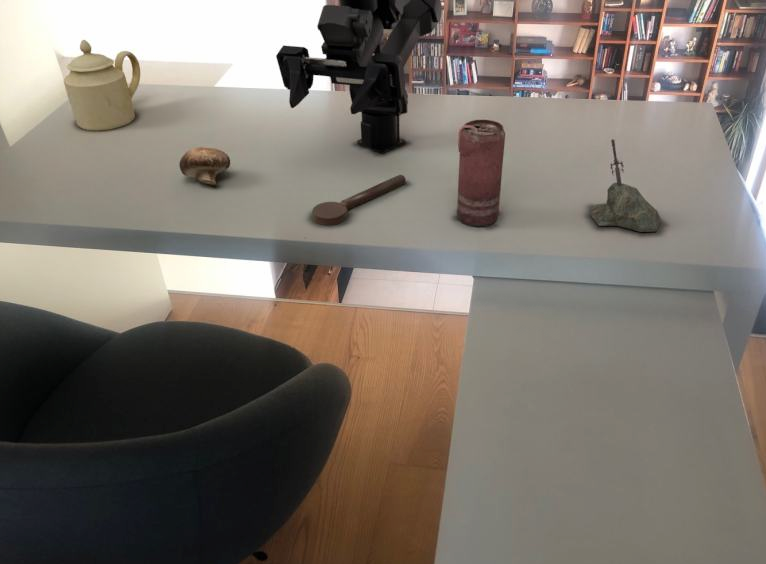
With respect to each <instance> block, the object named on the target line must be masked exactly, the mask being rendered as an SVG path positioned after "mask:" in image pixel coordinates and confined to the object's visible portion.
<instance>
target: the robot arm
mask: <svg viewBox="0 0 766 564" xmlns="http://www.w3.org/2000/svg"><path fill="white" fill-rule="evenodd" d="M441 1H442V0H337V2H338V5H337V4H336V5H333V4H325V5H323V6H322V9H321V12H320V16H319V19H318V22H317V24H316V25H317V26H316V27H317V30H318V31H319V32H320V35H321V37H322V40H323V43H322V45H321V46H320V48H321V53H322V55H325V58H321V57H311V56H310V53H309V49H308V48H307V47H305V46H296V45H295V46H294V45H282V46H281V48H280V49H279V50H278V51H277V54H276V55H275V58H276V61H277V66H278V69H279V72H280V76H281V79H282V84H283V86H284V87H285V88H286V89H287V90H288V91H289V97H288V98H289V99H288V102H289V106H290V109H294V108H296V107H297V106H298V105H300V103H301V102H303V100H304V99H305V98H307V96H308V95H309V94H310V89H312V87H313V84H314V76H319V77H329V78H330V82H331V84H333V85H334V84H335V85H344V86H349V87H348V88H349V89H348V90H349V97H350V101H351V105H350V107H349V108H350V109H349V110H350V114H351V115H356V114H359V113H361V121H360V138H359V139H358V140H356V144H357V145H360V146H362V147H364V148H366V149H369V150H371V151H374V152H375V153H379V154H383V153H387V152H388V151H390V150H393V149H395V148H398V147H399V146H403V145H405V144H406V143H407V140H406V139H404V138H402V137H401V134H400V117H401V115H404V114H408V105H409V100H408V99H409V95H408V92H407V90H406V78H405V66H406V64H407V62H408V60H409V58H410V56H411V55H412V53H413V51H414V49H415V47H416V46H417V43H418V41H419V39H420V38H421V37H423V36H426V35H430V34H431V33H432V32H433V31H434V30H435V29H436V27H437V25H438V23H440V22H441V20H442V12H443V7H442V6H443V5H442V2H441ZM384 30H388V31H389V30H391V32H390V33H389V35H388V37H387V38H386V40H385V42H384V44H383V45H382V38H383V36H384Z"/></svg>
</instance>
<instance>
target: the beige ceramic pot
mask: <svg viewBox="0 0 766 564" xmlns="http://www.w3.org/2000/svg"><path fill="white" fill-rule="evenodd" d="M79 50H80V51H81V52H82V53H83V54H81V55H78V56H76V57H74V58H73V59H71V61H70V63H68V64H67V65H66V69H67V70H68V71H69V74H68V75H66V76H65V77H63V85H64V88H65V92H66V95H67V98H68V101H69V104H70V108H71V110H72V114H73V116H74V118H75V123H76V125H77V126H78V127H79V128H81V129H83V130H87V131H107V130H108V131H109V130H114V129H118V128H122V127H124V126H126V125H128V124H130V123H131V122H132V121H134V119H135V118H136V112H135V110H134V105H133V100H132V99H133V97H134V95H135V93H136V92H137V90H138V87H139V84H140V81H141V66H140V63H139V60H138V58H137V56H136V55H135V54H134V53H133V52H131V51H129V50H123V51H119V52H118V53H117V54H116V56H115V58H114V59H115V60H113V59H112V58H110V57H108V56H106V55H104V54H102V53H92V46H91V44H90V43H89V42H88V41H87V40H85V39H82V40H81V41H80V44H79ZM126 57H127V58H128V60H129V62H130V64H131V69H132V72H131V73H132V76H131V81H130V83H129V85H128V81H127V79H126V74H125V71H124V70H123V66H124V65H123V63H124V60H125V58H126Z"/></svg>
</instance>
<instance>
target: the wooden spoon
mask: <svg viewBox="0 0 766 564" xmlns="http://www.w3.org/2000/svg"><path fill="white" fill-rule="evenodd" d="M406 180H407V179H406V176H405V175H404V174H398V175H396V176H393V177H392V178H389V179H387V180H385V181H383V182H380V183H377V184H376V185H373V186H372V187H369V188H366V189H365V190H363V191H360V192H358V193H356V194H353V195H351V196H349V197H347V198H345V199H343V200H340V202H338V201H325V202H321V203H318V204H316V205H315V206H313V208H312V210H311V212H312V219H313V221H314V222H315V223H316V224H319V225H322V226H334V225H338V224H341V223H343V222H345V221H346V220H347V219H348V211H349V210H351V209H352V208H355V207H357V206H359V205H361V204H364V203H366V202H368V201H370V200H372V199H374V198H377V197H379V196H381V195H383V194H385V193H388V192H389V191H393V190H394V189H396V188H398V187H401V186H403V185H404V184H405V183H406Z"/></svg>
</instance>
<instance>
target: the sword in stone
mask: <svg viewBox="0 0 766 564" xmlns="http://www.w3.org/2000/svg"><path fill="white" fill-rule="evenodd" d="M610 142H611V147H612V153H613V161H611V163H610V165H609V166H610V170H611V174H612V176H613V177H614V172H615V177H616V182H613V183H612V184H611V185H610V186H609V187H608V188H607V197H606V198H607V200H606V203H601V204H596V205H594V206H592V208H591V211H590V217H591V218H592V219H593V221H594V222H595V223H596V224H597V225H598V226H599V227H602V226H603V227H605V226H617V227H620V228H625V229H627V230H631V231H632V230H633V231H636V232H640V233H644V232H645V233H646V232H647V233H648V232H657V231H658V229H659V227H660V226H661V223H662V220H661V217H660V215H659V211H658V210H657V209H656V208H655V207H654V206H652V204H651V203H649V202H648V200H646V199H645V197H644V196H643V195H642V192H640V191H639V189H638V188H637V187H634V186H631V185H628V184H625V183H622V178H621V171H622V172H624V169H623V168H624V167H625V166H624V162H623V161H622V160H621V159H620V161H619V159H618V157H617V150H616V143H615V142H616V141H615V139H614V138H612V139H611V140H610ZM614 165H615V169H613V166H614ZM619 165H620V166H621V170H620V167H619Z"/></svg>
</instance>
